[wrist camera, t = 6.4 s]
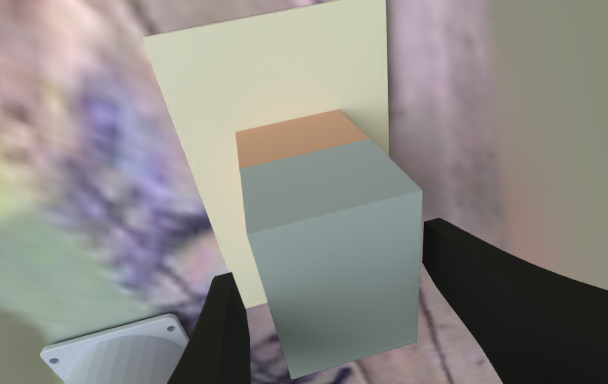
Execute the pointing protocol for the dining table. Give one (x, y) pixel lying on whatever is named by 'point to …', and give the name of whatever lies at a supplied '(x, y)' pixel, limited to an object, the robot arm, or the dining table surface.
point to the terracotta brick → (295, 137)
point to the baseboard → (267, 96)
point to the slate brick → (336, 252)
